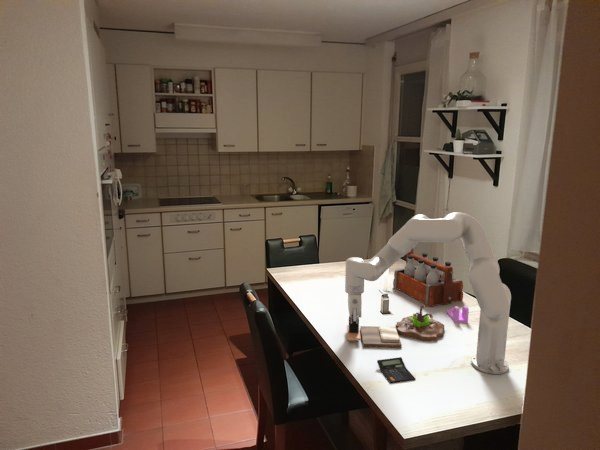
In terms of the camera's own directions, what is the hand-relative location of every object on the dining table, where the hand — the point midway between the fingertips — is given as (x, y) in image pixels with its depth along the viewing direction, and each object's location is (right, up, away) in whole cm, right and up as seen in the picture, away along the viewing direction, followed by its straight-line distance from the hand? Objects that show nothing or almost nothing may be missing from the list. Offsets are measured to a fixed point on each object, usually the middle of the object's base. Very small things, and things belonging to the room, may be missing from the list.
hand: (353, 329), depth 189 cm
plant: (+30, -2, +8) cm, 31 cm away
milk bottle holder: (+44, +7, +50) cm, 67 cm away
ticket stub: (0, -2, 0) cm, 2 cm away
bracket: (+50, +1, +21) cm, 54 cm away
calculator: (+12, -10, -26) cm, 30 cm away
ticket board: (+11, -4, 0) cm, 11 cm away
